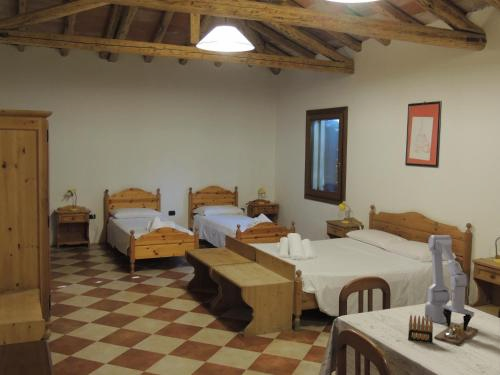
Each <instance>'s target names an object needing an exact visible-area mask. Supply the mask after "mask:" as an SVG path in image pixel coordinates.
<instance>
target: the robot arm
mask: <svg viewBox="0 0 500 375" xmlns="http://www.w3.org/2000/svg"><path fill="white" fill-rule="evenodd" d="M452 247H453V239H452V237H451V235H449V234H438V235H437V234H431V235H430V236H429V238H428V251H430V252H431V262H432V263H431V264H432V282H433V283H432V284H431V285H429V287H427V294H426V298H427V302H425V306H424V321H426V318H427V316H428V320H429V322H430V318H431V317H432V320H433V323H438V324H441V325H442V324H445V323H446V326H447V327H450V325H451V326H452V324H451V323H452V321H451V320H452V313H456V314H461V315H463V317H462V320H463V322H464V327H463V330H467V326H469V323H470V321H471V319H472V318H473V317H474V316H475V312H474V311H472V310H469V309H466V308H465V301H466V299H465V298H466V288H467V287H468V286H469V278H468V275H467V274H466V273H465V272H463V270H462V267H461V266H460V263H459V262H458V260H457V261H456V259H455V256H454V253H453V249H452ZM443 257H444V258H445V260H446V262H447V263H446V265H445V266H446V268H447V271H448V275H449V278H450V279H449V283H450V289H451V295H450V291H449V287H447V286H446V285H445V284H444V269H443V268H444V267H443V266H444V264H443ZM450 300H451V303H450V304H451V305H448V303H449V302H450Z"/></svg>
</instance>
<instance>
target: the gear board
mask: <svg viewBox="0 0 500 375" xmlns="http://www.w3.org/2000/svg"><path fill="white" fill-rule="evenodd" d="M454 324H456V325H458V324H459V323H456V322H455V323H454ZM449 330H450V326H448V327H447V328H446V329H443V330H442V331H440V332H439V333H437V334H436V335H434V339H433V340H437V341H440V342H444V343H447V344H451V345H455V346H460V345H461V344H462V343H464V342H466V341H467V340H468V339H470V338H471V337H472V336H474V335H475V334H477V333H478V332H479V329H478V328H475V327H472V326H469V330H467V331H464V333H462V335H460V334H458V337H457V338H456V339H450V338H449V339H448V338H447V337H445V336H444V333H445V332H446V331H448V332H449Z"/></svg>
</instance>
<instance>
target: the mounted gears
mask: <svg viewBox="0 0 500 375" xmlns="http://www.w3.org/2000/svg"><path fill="white" fill-rule="evenodd" d="M457 324H458V325H461V326H462V327H464V321H461V323H457ZM456 327H458V326H457V325H456ZM469 327H470V325H468V326H467V330H469ZM467 330H464V331H467ZM444 336H445V337H447V338H448V339H449V338H450V339H456V338H457V337H458V334H456V333H455V331H453V332H452V329H450V330H449V332H448V331H446V332H445V333H444Z"/></svg>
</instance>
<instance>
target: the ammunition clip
mask: <svg viewBox="0 0 500 375" xmlns="http://www.w3.org/2000/svg"><path fill="white" fill-rule="evenodd" d="M424 318H425V315H423V316H422V318H421V315H418V317H417V315H414V316H412V314H410V316H409V322H408V335H407V336H408V337H407V341H411V342H419V343H426V344H433V343H434V342H433V340H434V339H433V334H434V322H433V320H432V317H431V318H430V321H429V320H428V316H427V318H426V320H425V319H424Z"/></svg>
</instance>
